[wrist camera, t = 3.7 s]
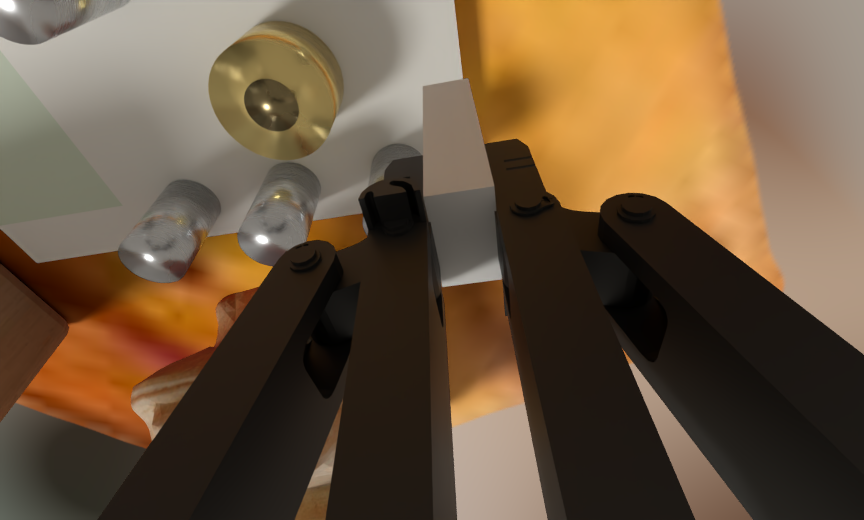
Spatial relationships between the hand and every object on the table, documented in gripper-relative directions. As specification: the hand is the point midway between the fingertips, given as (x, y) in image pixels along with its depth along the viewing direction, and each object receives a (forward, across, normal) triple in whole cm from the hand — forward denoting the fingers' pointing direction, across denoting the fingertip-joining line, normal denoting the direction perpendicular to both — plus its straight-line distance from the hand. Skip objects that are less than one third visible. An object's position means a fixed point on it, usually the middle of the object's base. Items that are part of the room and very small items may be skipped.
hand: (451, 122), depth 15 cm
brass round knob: (+7, -7, 0) cm, 10 cm away
